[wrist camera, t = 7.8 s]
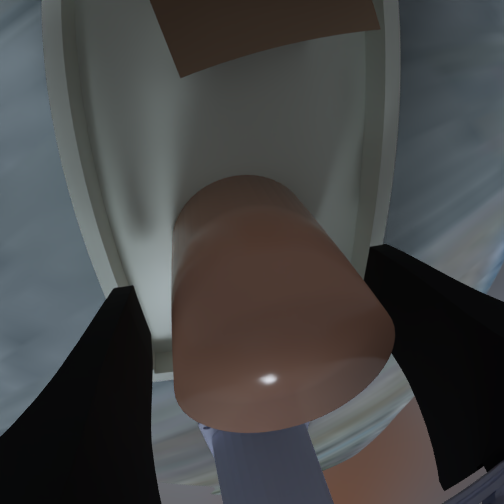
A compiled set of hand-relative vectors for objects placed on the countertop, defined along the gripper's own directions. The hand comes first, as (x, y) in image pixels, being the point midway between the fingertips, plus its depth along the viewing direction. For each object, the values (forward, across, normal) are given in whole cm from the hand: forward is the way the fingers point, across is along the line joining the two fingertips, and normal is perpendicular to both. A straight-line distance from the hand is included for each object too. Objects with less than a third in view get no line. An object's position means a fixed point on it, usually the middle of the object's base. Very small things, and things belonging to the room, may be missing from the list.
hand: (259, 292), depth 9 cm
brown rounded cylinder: (+3, 0, 0) cm, 3 cm away
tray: (+3, 0, -3) cm, 4 cm away
